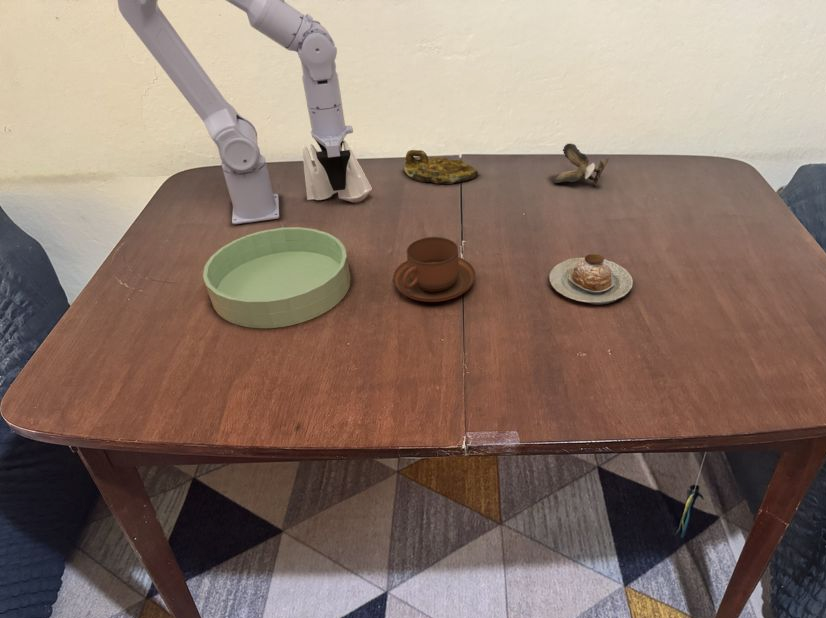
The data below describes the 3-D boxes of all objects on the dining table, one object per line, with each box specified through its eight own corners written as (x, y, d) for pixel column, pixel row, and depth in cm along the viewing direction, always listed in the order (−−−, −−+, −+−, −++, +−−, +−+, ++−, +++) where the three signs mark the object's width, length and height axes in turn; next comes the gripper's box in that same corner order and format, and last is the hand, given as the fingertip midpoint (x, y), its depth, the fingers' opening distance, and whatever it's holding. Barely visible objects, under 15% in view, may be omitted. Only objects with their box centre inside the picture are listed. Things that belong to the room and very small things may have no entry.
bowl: (216, 262, 101) (208, 237, 98) (343, 244, 105) (339, 219, 102) (207, 339, 86) (197, 312, 83) (357, 315, 89) (353, 288, 87)
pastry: (585, 318, 87) (588, 290, 84) (532, 278, 95) (533, 252, 92) (649, 291, 92) (654, 263, 89) (594, 255, 100) (597, 229, 97)
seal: (482, 172, 127) (410, 166, 130) (483, 148, 125) (409, 142, 127) (473, 187, 120) (396, 181, 122) (473, 162, 117) (395, 156, 120)
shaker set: (374, 197, 118) (367, 138, 111) (365, 207, 115) (357, 147, 108) (316, 190, 121) (305, 132, 114) (305, 200, 118) (293, 141, 110)
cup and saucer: (458, 316, 89) (456, 279, 85) (380, 301, 92) (375, 264, 88) (486, 271, 97) (486, 236, 93) (414, 259, 101) (411, 224, 97)
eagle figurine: (607, 169, 122) (563, 154, 124) (611, 147, 115) (564, 131, 117) (591, 202, 120) (547, 186, 122) (594, 182, 113) (547, 166, 115)
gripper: (353, 115, 102) (364, 194, 110) (344, 88, 113) (355, 161, 121) (308, 120, 101) (323, 200, 109) (304, 92, 112) (317, 166, 120)
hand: (337, 180), depth 115 cm, fingers open, 7 cm apart
